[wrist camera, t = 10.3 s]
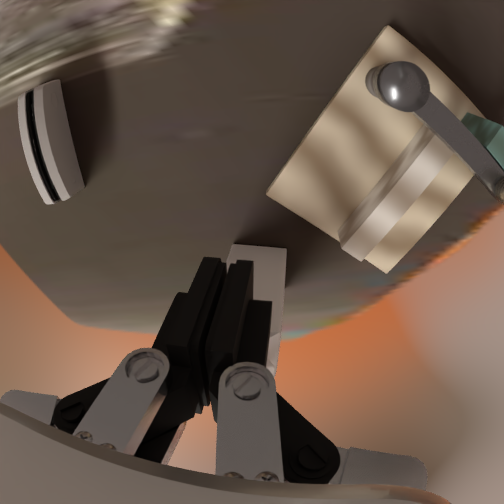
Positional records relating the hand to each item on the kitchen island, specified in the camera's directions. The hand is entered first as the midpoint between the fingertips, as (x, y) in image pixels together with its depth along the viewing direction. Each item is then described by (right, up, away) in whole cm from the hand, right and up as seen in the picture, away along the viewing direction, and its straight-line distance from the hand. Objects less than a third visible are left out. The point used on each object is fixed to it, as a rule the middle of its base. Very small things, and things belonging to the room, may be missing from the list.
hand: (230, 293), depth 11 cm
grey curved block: (-25, +17, +25) cm, 39 cm away
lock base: (+17, +12, +22) cm, 31 cm away
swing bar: (+19, +13, +14) cm, 27 cm away
